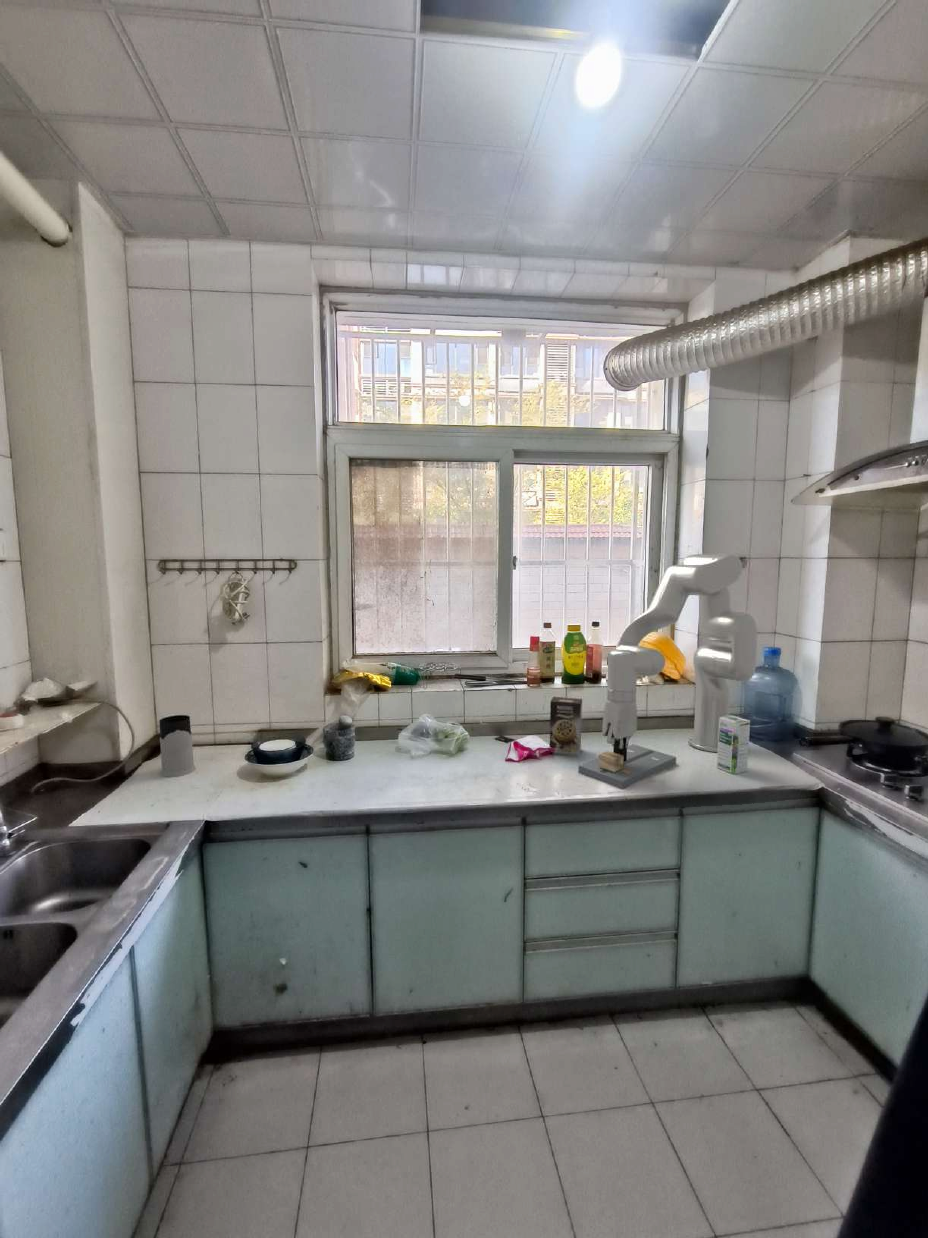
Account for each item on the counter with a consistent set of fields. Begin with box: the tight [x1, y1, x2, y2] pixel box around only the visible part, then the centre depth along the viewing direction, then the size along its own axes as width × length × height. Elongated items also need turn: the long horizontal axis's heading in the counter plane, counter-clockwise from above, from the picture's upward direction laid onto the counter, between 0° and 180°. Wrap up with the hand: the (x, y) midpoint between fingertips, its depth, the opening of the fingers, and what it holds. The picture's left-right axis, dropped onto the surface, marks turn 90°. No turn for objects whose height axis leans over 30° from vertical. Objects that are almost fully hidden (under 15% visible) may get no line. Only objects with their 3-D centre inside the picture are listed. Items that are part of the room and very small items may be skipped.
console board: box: [577, 743, 677, 790], centre depth 150 cm, size 26×14×2 cm, turn 129°
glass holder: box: [159, 714, 196, 778], centre depth 152 cm, size 9×14×15 cm, turn 36°
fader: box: [598, 750, 623, 772], centre depth 145 cm, size 4×5×4 cm
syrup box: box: [716, 715, 751, 775], centre depth 148 cm, size 6×6×14 cm
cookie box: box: [549, 696, 583, 757], centre depth 163 cm, size 9×6×16 cm
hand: (619, 760), depth 147 cm, fingers closed
